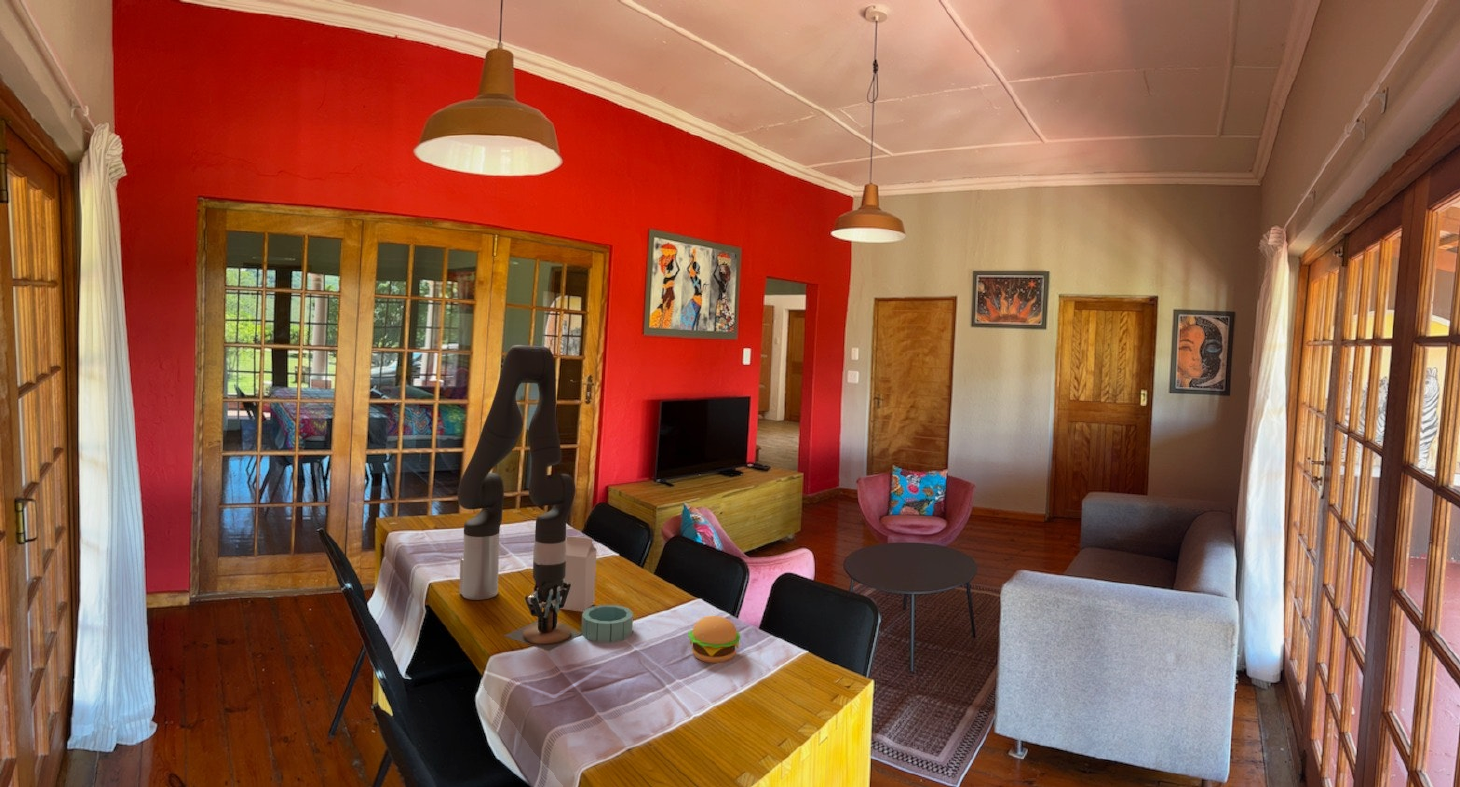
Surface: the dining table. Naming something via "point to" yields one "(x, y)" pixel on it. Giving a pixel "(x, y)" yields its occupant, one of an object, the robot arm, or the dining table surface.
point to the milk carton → (580, 573)
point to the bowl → (607, 623)
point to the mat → (519, 637)
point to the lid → (551, 635)
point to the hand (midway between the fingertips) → (547, 629)
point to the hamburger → (714, 639)
